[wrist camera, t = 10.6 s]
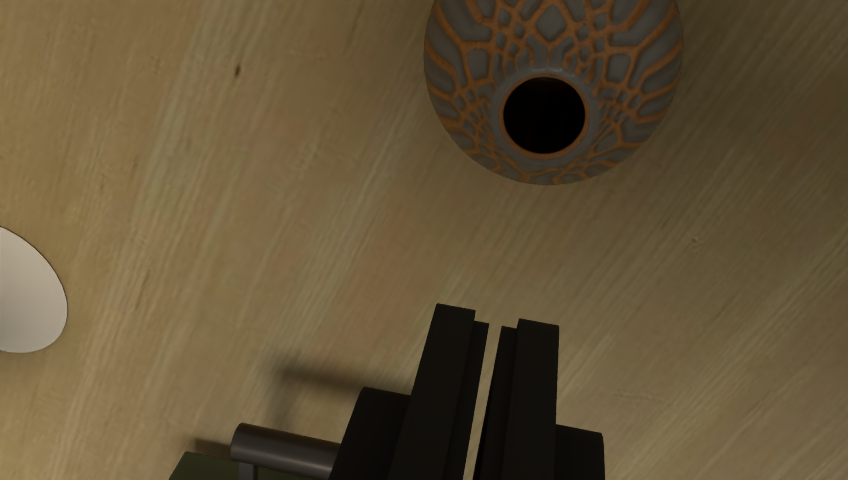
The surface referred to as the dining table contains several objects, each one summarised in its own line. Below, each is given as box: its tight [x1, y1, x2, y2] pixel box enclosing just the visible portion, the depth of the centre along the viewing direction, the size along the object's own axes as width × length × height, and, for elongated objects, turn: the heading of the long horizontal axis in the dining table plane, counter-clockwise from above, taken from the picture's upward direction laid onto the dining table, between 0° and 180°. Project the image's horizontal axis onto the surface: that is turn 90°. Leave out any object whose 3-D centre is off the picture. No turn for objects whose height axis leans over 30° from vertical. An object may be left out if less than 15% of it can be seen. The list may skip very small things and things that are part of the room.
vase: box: [424, 0, 684, 185], centre depth 22 cm, size 7×7×9 cm
